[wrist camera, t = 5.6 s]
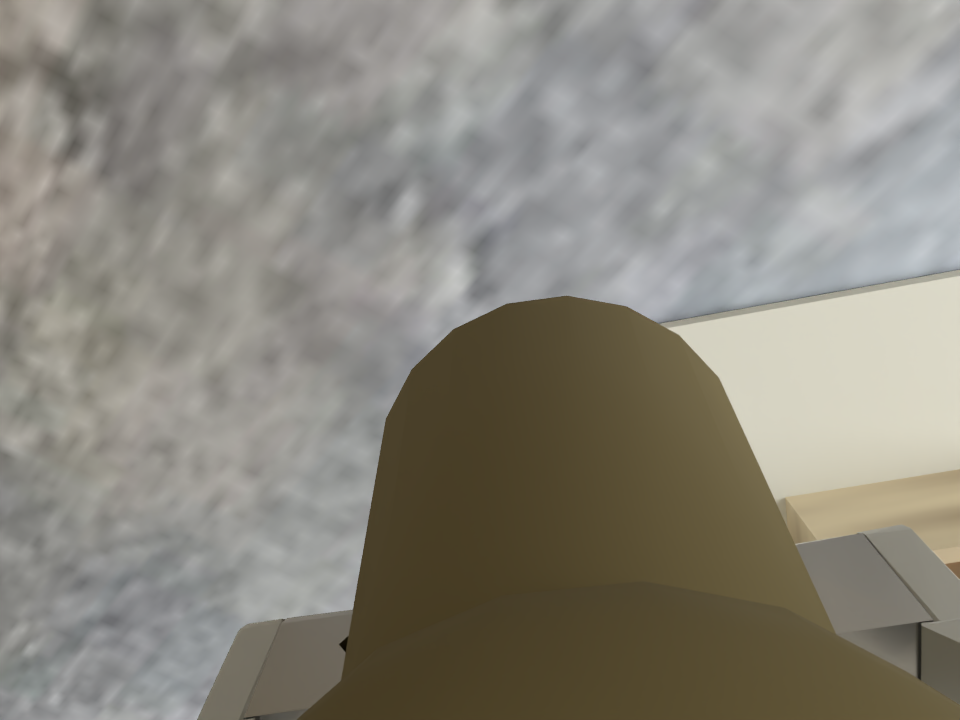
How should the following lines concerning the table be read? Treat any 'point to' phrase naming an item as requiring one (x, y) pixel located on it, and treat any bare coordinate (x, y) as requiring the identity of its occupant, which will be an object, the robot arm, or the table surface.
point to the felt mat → (842, 382)
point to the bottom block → (884, 511)
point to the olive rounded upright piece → (588, 545)
